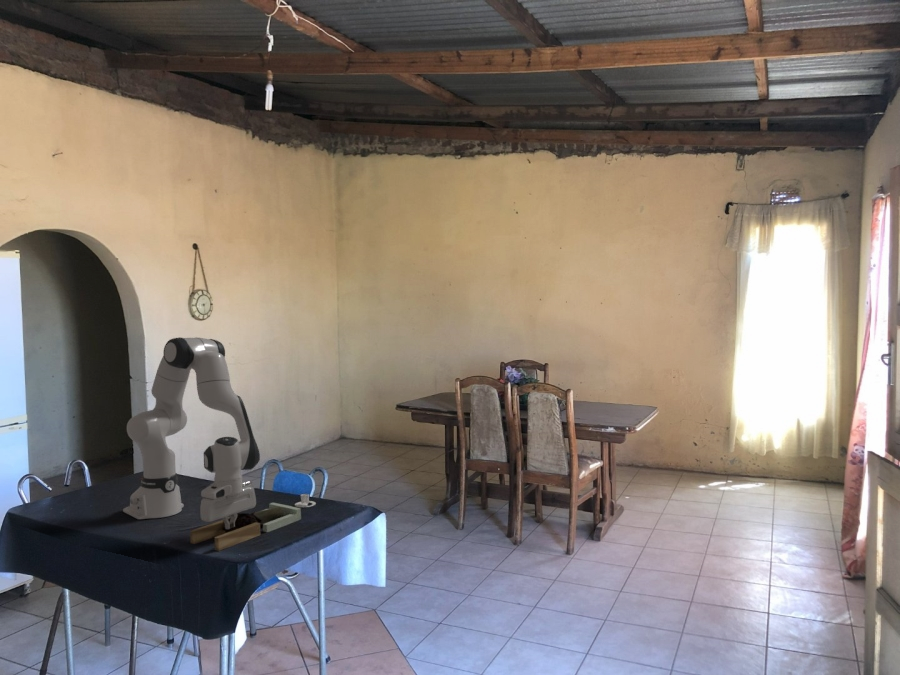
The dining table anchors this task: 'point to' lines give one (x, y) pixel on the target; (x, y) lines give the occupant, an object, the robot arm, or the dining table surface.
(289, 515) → the frame
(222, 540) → the oak channel
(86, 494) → the dining table surface
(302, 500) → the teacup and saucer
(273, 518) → the dark piece
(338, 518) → the dining table surface
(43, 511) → the dining table surface
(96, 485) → the dining table surface
